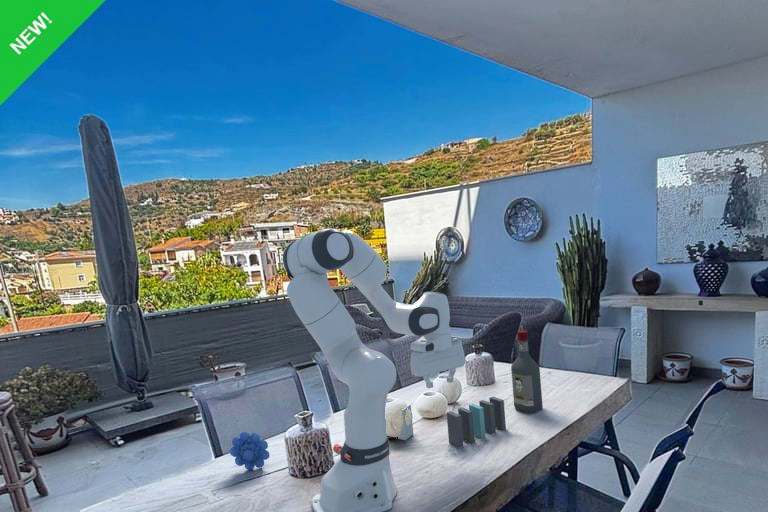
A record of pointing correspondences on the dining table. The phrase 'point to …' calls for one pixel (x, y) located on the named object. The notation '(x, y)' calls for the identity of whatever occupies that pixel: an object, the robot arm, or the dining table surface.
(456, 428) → the domino
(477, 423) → the domino
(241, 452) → the blue flower
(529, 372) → the liquor
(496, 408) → the domino
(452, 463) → the dining table surface
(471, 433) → the domino
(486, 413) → the domino
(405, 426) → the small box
